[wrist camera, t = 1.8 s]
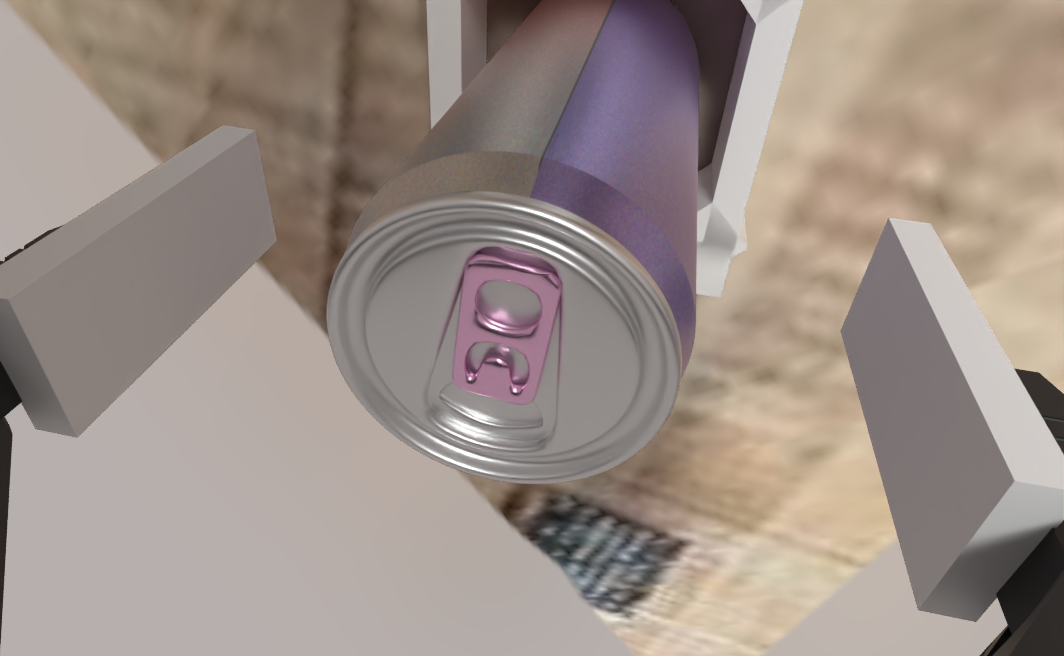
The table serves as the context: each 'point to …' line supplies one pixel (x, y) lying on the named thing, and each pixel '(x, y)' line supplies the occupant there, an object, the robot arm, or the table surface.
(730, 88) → the strip dock
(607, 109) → the beverage can
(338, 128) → the table surface
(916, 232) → the robot arm
